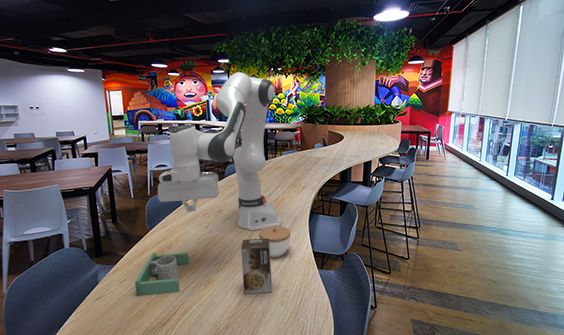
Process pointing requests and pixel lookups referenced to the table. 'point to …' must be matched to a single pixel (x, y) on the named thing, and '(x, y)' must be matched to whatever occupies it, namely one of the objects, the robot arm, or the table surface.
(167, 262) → the mug
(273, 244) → the lidded bowl
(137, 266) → the table surface
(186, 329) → the table surface
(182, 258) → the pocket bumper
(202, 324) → the table surface
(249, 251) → the brown food box
